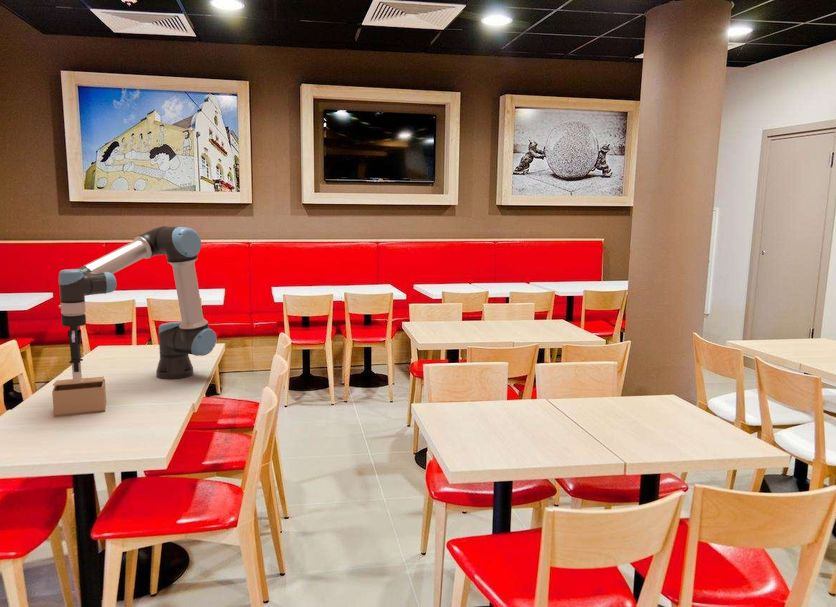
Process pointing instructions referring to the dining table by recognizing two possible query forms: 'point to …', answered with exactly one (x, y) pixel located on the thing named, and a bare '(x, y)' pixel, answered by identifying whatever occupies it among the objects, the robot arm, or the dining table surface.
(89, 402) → the carton
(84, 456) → the dining table surface
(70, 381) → the lid
